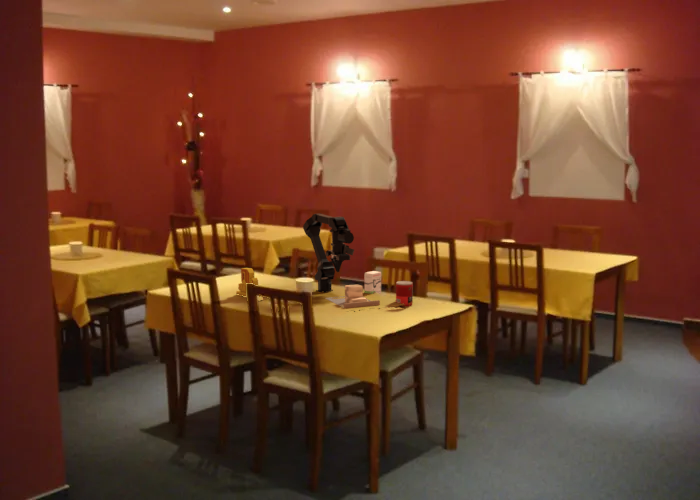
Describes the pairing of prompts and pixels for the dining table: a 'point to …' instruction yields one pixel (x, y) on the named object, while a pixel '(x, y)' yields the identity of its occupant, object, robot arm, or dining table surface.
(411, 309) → the dining table surface
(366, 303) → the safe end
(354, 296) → the birch block
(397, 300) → the canned food
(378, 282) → the ink box
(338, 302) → the board
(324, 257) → the robot arm
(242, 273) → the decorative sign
